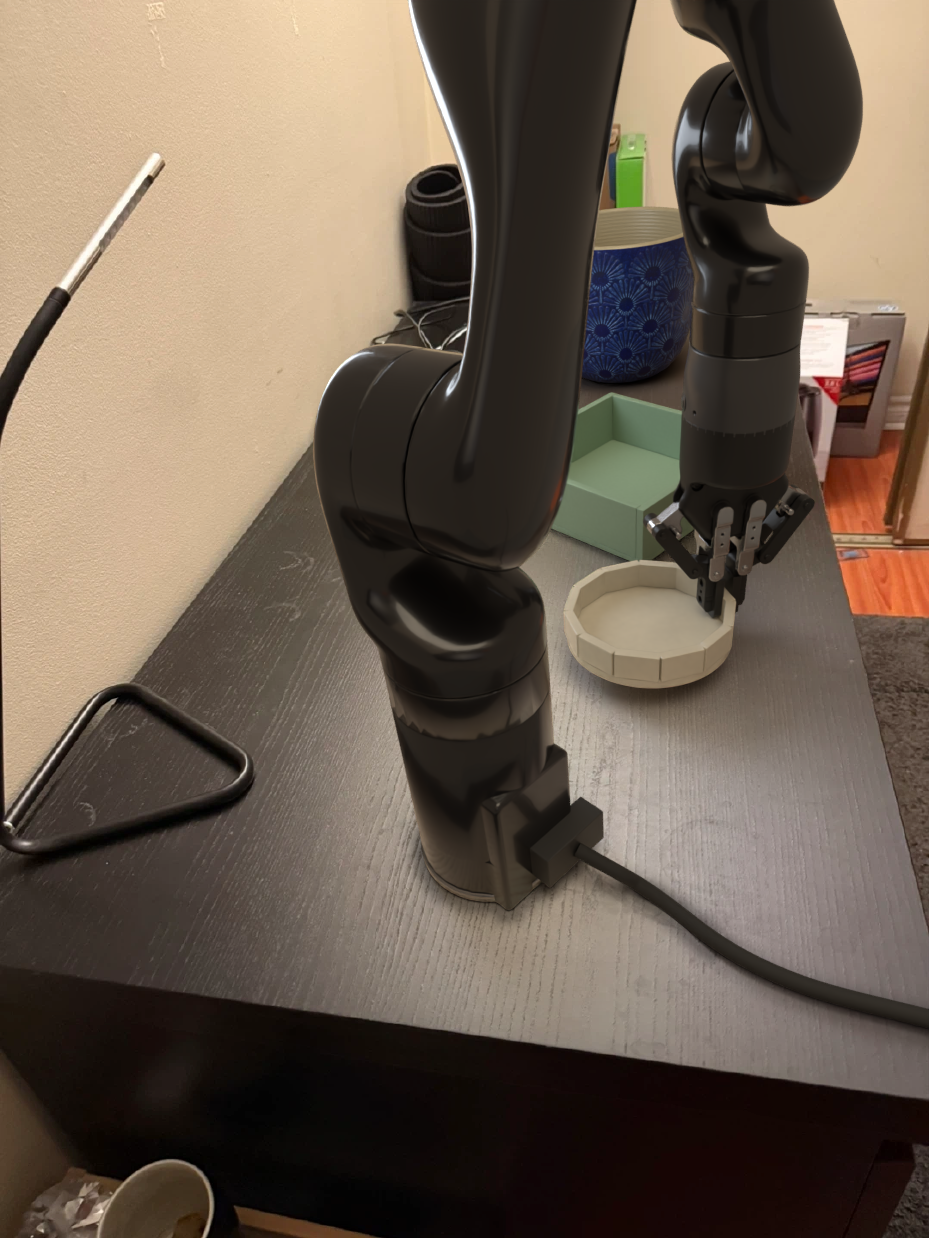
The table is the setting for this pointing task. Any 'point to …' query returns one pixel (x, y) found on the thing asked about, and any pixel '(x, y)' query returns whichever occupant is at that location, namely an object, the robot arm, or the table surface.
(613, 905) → the table surface
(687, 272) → the planter
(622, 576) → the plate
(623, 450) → the tote
